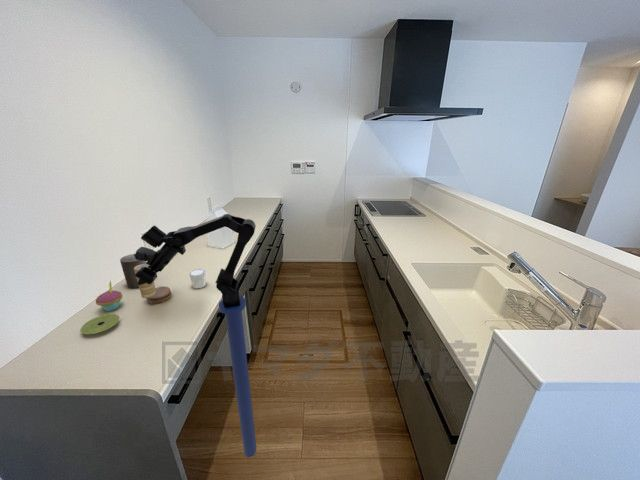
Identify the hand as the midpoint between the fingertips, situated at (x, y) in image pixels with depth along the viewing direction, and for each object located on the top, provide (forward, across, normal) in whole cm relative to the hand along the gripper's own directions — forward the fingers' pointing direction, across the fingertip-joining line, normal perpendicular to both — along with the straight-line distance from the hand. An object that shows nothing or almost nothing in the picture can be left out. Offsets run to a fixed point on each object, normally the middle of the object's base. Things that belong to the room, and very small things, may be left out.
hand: (141, 280), depth 105 cm
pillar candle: (+18, -21, 0) cm, 27 cm away
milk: (-3, -67, +21) cm, 71 cm away
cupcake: (+19, -1, -1) cm, 19 cm away
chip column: (+4, 0, +6) cm, 7 cm away
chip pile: (+7, -6, +10) cm, 14 cm away
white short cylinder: (-3, -15, +20) cm, 25 cm away
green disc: (+17, +12, +1) cm, 20 cm away
